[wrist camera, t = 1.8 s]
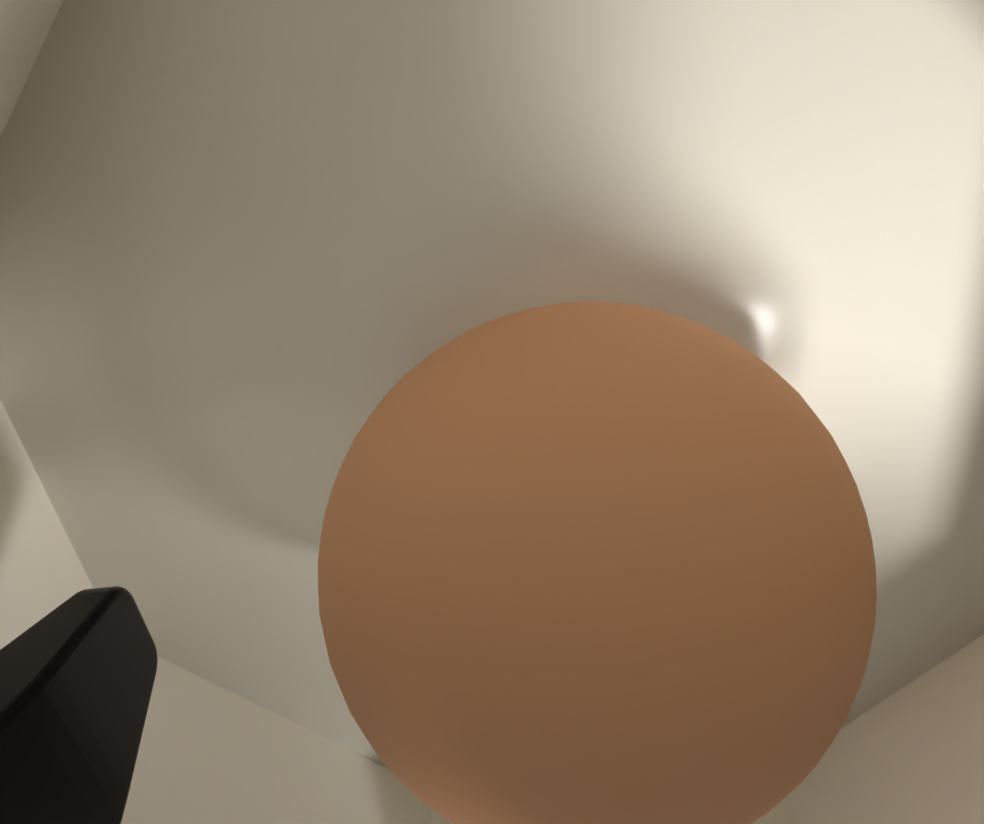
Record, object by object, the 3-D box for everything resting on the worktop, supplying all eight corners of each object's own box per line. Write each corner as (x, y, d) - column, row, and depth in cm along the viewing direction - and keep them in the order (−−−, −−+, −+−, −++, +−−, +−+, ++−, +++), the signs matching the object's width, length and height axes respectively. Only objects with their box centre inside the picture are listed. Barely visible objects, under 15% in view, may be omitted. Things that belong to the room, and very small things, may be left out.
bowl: (1063, 747, 14) (1188, 939, 11) (181, 804, 15) (114, 989, 13) (1506, -577, 6) (2197, -903, 4) (-356, -245, 7) (-811, -318, 5)
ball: (774, 567, 11) (936, 978, 7) (402, 598, 12) (341, 1004, 7) (796, 196, 9) (1071, 488, 4) (319, 253, 9) (150, 570, 5)
